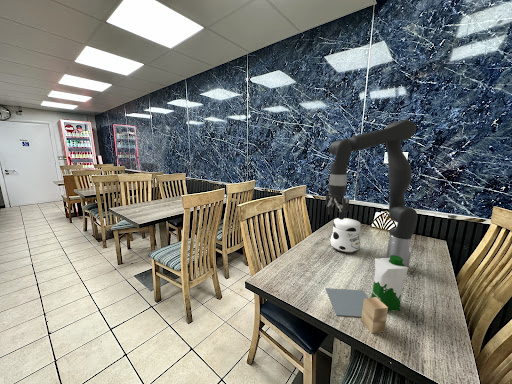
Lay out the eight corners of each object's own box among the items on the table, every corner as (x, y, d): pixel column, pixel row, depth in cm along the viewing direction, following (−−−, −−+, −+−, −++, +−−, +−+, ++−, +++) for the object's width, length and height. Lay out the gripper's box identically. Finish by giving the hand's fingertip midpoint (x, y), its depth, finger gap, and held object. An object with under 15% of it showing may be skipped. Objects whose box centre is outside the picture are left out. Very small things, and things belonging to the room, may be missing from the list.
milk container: (361, 257, 116) (365, 228, 113) (330, 252, 121) (332, 224, 118) (357, 245, 132) (360, 219, 129) (329, 241, 137) (331, 216, 134)
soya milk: (404, 312, 75) (412, 263, 71) (381, 313, 74) (388, 264, 70) (387, 296, 83) (393, 252, 80) (366, 297, 82) (372, 252, 79)
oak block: (373, 319, 71) (376, 297, 70) (384, 331, 66) (388, 307, 65) (360, 321, 70) (363, 298, 69) (371, 333, 66) (374, 309, 64)
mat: (362, 291, 86) (362, 290, 86) (381, 318, 72) (382, 317, 71) (325, 288, 87) (325, 288, 87) (336, 315, 73) (336, 314, 73)
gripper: (355, 185, 88) (352, 220, 91) (334, 181, 101) (332, 212, 104) (340, 186, 86) (338, 222, 89) (321, 182, 99) (320, 213, 102)
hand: (335, 216), depth 96 cm, fingers open, 8 cm apart
